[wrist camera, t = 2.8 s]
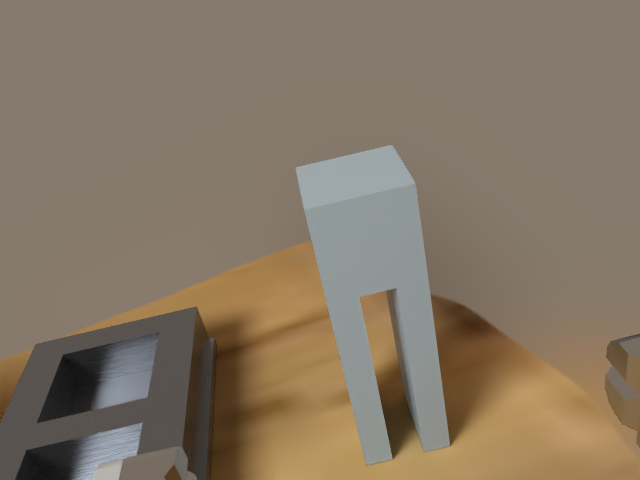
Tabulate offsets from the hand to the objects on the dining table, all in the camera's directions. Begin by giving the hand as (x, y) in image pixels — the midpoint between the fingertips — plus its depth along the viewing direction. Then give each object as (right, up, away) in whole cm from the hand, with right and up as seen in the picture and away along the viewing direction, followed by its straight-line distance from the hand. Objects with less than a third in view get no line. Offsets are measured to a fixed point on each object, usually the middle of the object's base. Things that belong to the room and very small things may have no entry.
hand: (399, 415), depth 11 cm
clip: (+2, -5, +17) cm, 18 cm away
